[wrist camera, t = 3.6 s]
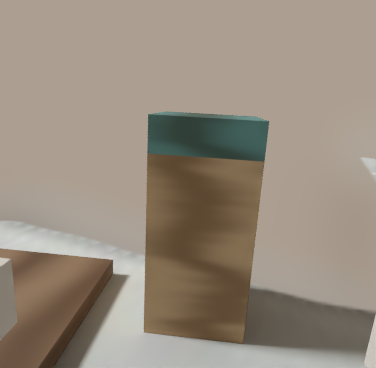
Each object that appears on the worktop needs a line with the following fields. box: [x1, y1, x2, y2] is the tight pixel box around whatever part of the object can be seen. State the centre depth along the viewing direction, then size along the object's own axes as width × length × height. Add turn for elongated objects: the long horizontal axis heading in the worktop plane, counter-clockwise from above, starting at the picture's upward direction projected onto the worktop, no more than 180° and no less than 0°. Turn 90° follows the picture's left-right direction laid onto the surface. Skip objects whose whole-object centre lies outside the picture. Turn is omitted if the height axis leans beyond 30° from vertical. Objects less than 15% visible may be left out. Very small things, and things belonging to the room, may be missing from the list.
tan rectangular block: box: [144, 112, 269, 344], centre depth 20 cm, size 6×6×13 cm
